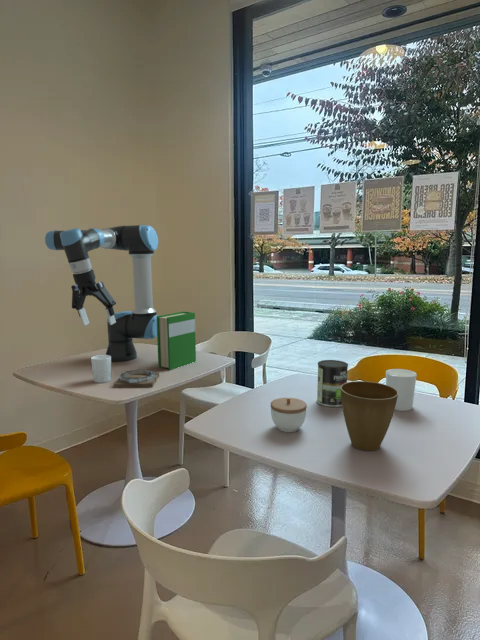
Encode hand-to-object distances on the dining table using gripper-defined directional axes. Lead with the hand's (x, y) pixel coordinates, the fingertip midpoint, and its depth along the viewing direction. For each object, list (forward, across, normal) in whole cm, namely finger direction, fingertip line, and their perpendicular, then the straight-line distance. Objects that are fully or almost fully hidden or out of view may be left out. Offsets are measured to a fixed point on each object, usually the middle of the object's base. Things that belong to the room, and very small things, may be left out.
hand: (99, 324), depth 166 cm
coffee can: (+37, +84, +11) cm, 92 cm away
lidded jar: (+30, +77, -16) cm, 84 cm away
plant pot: (+31, +100, -18) cm, 107 cm away
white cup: (+25, -8, 0) cm, 27 cm away
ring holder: (+28, +6, +4) cm, 28 cm away
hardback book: (+35, +6, +32) cm, 48 cm away
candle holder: (+40, +105, +16) cm, 114 cm away
